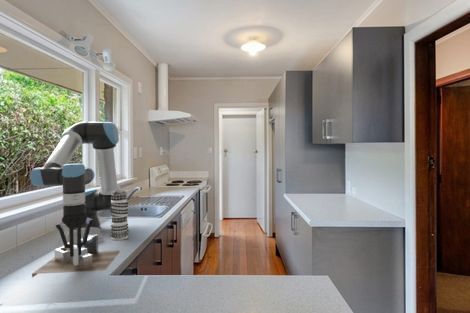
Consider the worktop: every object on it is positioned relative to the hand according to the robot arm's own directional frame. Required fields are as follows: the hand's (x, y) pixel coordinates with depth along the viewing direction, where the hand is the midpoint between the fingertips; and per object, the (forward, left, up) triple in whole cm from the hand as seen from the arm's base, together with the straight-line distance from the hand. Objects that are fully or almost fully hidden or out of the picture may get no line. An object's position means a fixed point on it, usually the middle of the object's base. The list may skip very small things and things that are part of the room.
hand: (75, 263), depth 108 cm
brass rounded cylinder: (-11, -7, -3) cm, 13 cm away
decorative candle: (-40, +5, -3) cm, 40 cm away
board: (-7, -1, -3) cm, 8 cm away
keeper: (-12, 0, -3) cm, 13 cm away
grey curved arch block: (-29, -9, -3) cm, 30 cm away
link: (-7, -3, -2) cm, 7 cm away
